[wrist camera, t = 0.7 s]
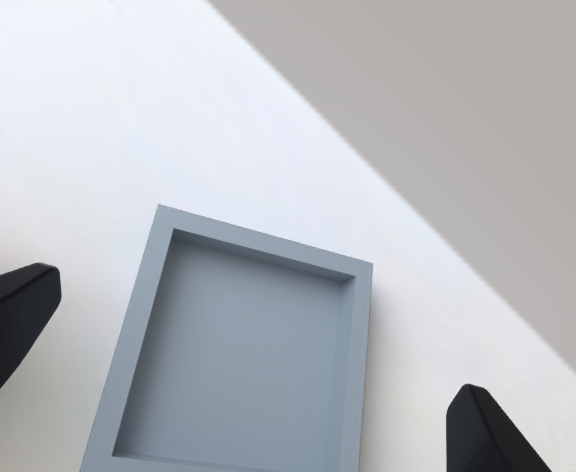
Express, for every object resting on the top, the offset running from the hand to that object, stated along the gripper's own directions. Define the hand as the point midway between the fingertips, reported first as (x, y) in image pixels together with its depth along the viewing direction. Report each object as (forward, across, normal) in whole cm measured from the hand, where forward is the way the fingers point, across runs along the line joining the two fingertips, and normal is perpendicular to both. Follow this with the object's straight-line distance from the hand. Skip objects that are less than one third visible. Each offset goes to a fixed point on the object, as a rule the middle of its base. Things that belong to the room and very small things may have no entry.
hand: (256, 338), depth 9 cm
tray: (+9, +1, +11) cm, 14 cm away
